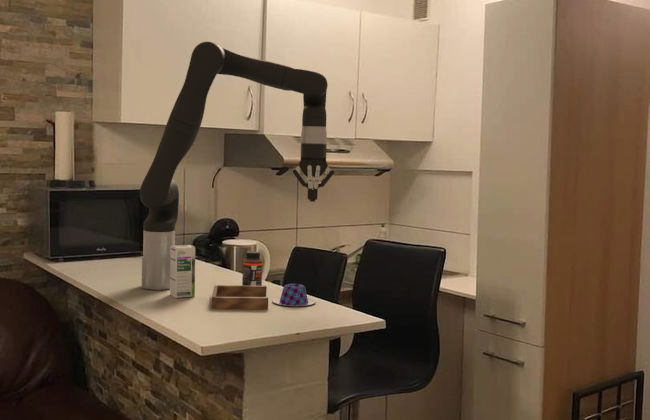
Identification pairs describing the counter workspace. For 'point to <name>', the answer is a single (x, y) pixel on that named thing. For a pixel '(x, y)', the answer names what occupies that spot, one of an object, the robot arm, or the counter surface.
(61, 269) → the counter surface
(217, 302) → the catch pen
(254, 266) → the supplement bottle
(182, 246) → the syrup box
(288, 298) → the pudding
